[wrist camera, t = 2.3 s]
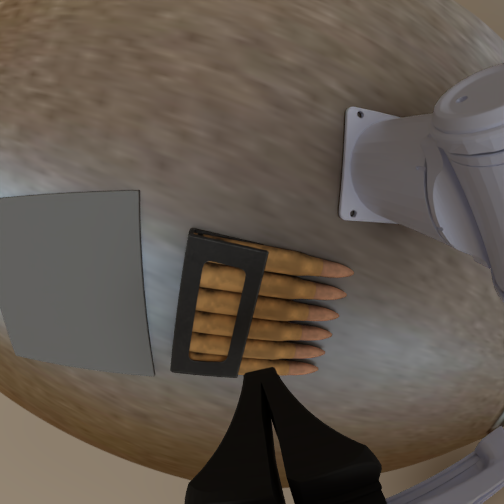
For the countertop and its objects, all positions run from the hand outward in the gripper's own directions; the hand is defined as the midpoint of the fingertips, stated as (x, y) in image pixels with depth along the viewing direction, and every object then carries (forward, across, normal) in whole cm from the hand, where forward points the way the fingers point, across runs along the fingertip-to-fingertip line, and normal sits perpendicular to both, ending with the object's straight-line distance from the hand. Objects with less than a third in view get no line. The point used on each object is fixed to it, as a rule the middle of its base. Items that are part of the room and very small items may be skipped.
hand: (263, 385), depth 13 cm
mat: (+9, +14, -4) cm, 18 cm away
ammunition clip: (+8, +5, -1) cm, 10 cm away
